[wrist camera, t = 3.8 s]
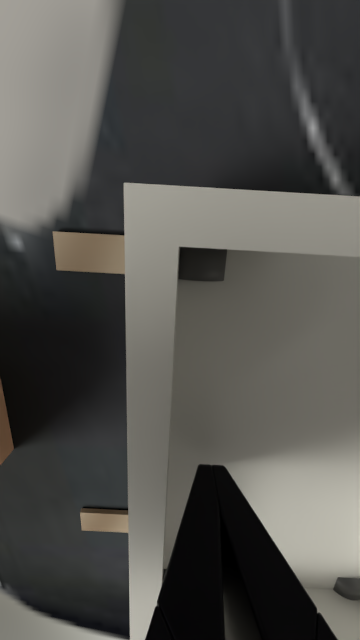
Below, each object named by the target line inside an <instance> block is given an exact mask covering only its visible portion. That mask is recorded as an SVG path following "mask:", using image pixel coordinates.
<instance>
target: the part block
mask: <svg viewBox="0 0 360 640" xmlns="http://www.w3.org/2000/svg"><path fill="white" fill-rule="evenodd" d="M13 449H14V446H13V441H12V436H11V430H10V425H9V420H8V415H7V409H6V404H5V399H4V394H3V388H2V383H1V378H0V465H1V464H2V463H3V461H4V460H5V459H6V458H7V457H8V455H9V454H10V453H11V452H12V450H13Z"/></svg>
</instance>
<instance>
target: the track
mask: <svg viewBox="0 0 360 640" xmlns="http://www.w3.org/2000/svg"><path fill="white" fill-rule="evenodd" d="M53 239H54V250H55V260H56V270H63V271H81V272H99V273H117V274H125V241H124V235H107V234H89V233H72V232H54V231H53ZM80 515H81V526H82V530H86V531H106V532H126V533H129V526H128V510H109V509H89V508H82V509H81V512H80Z"/></svg>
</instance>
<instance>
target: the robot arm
mask: <svg viewBox="0 0 360 640" xmlns="http://www.w3.org/2000/svg"><path fill="white" fill-rule="evenodd" d="M145 640H338V639H337V638H336V636H335V634H334V633H333V631H332V630H331V628H330V627H329V625H328V624H327V622H326V620H325V619H324V617H323V616H322V614H321V613H320V612H318V613H317V607H316V605H315V604H314V602H313V601H312V599H311V598H310V596H309V595H308V593H307V592H306V590H305V588H304V587H303V585H302V584H301V582H300V581H299V579H298V578H297V576H296V575H295V573H294V572H293V570H292V568H291V567H290V565H289V564H288V562H287V561H286V559H285V558H284V556H283V555H282V553H281V552H280V550H279V548H278V547H277V545H276V544H275V542H274V541H273V539H272V538H271V536H270V535H269V533H268V532H267V530H266V529H265V527H264V525H263V524H262V522H261V521H260V519H259V518H258V516H257V515H256V513H255V512H254V510H253V509H252V507H251V505H250V504H249V502H248V501H247V499H246V498H245V496H244V495H243V493H242V492H241V490H240V489H239V487H238V485H237V484H236V482H235V481H234V479H233V478H232V476H231V475H230V473H229V472H228V470H227V469H226V467H225V466H224V465H210V464H199V465H198V467H197V470H196V474H195V477H194V480H193V483H192V487H191V490H190V493H189V497H188V500H187V503H186V507H185V510H184V513H183V517H182V520H181V523H180V527H179V530H178V533H177V537H176V540H175V543H174V547H173V550H172V553H171V556H170V560H169V563H168V566H167V570H166V573H165V576H164V580H163V583H162V586H161V590H160V593H159V596H158V600H157V606H156V607H155V609H154V612H153V615H152V619H151V622H150V625H149V629H148V632H147V635H146V638H145Z"/></svg>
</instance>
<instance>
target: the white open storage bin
mask: <svg viewBox="0 0 360 640" xmlns="http://www.w3.org/2000/svg"><path fill="white" fill-rule="evenodd" d="M124 241H125V312H126V384H127V455H128V526H129V598H130V640H145V638H146V635H147V632H148V629H149V625H150V622H151V619H152V615H153V612H154V609H155V607H156V606H157V600H158V596H159V593H160V590H161V586H162V583H163V580H164V576H165V573H166V570H167V566H168V563H169V560H170V556H171V553H172V550H173V547H174V543H175V540H176V537H177V533H178V530H179V527H180V523H181V520H182V517H183V513H184V510H185V507H186V503H187V500H188V497H189V493H190V490H191V487H192V483H193V480H194V477H195V474H196V470H197V467H198V465H199V464H210V465H224V466H225V467H226V469H227V470H228V472H229V473H230V475H231V476H232V478H233V479H234V481H235V482H236V484H237V485H238V487H239V489H240V490H241V492H242V493H243V495H244V496H245V498H246V499H247V501H248V502H249V504H250V505H251V507H252V509H253V510H254V512H255V513H256V515H257V516H258V518H259V519H260V521H261V522H262V524H263V525H264V527H265V529H266V530H267V532H268V533H269V535H270V536H271V538H272V539H273V541H274V542H275V544H276V545H277V547H278V548H279V550H280V552H281V553H282V555H283V556H284V558H285V559H286V561H287V562H288V564H289V565H290V567H291V568H292V570H293V572H294V573H295V575H296V576H297V578H298V579H299V581H300V582H301V584H302V585H303V587H304V588H305V590H306V592H307V593H308V595H309V596H310V598H311V599H312V601H313V602H314V604H315V605H316V607H317V613H318V612H320V613H321V614H322V616H323V617H324V619H325V620H326V622H327V624H328V625H329V627H330V628H331V630H332V631H333V633H334V634H335V636H336V638H337V639H338V640H360V196H343V195H325V194H308V193H291V192H274V191H257V190H240V189H223V188H206V187H189V186H172V185H155V184H138V183H124Z"/></svg>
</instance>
